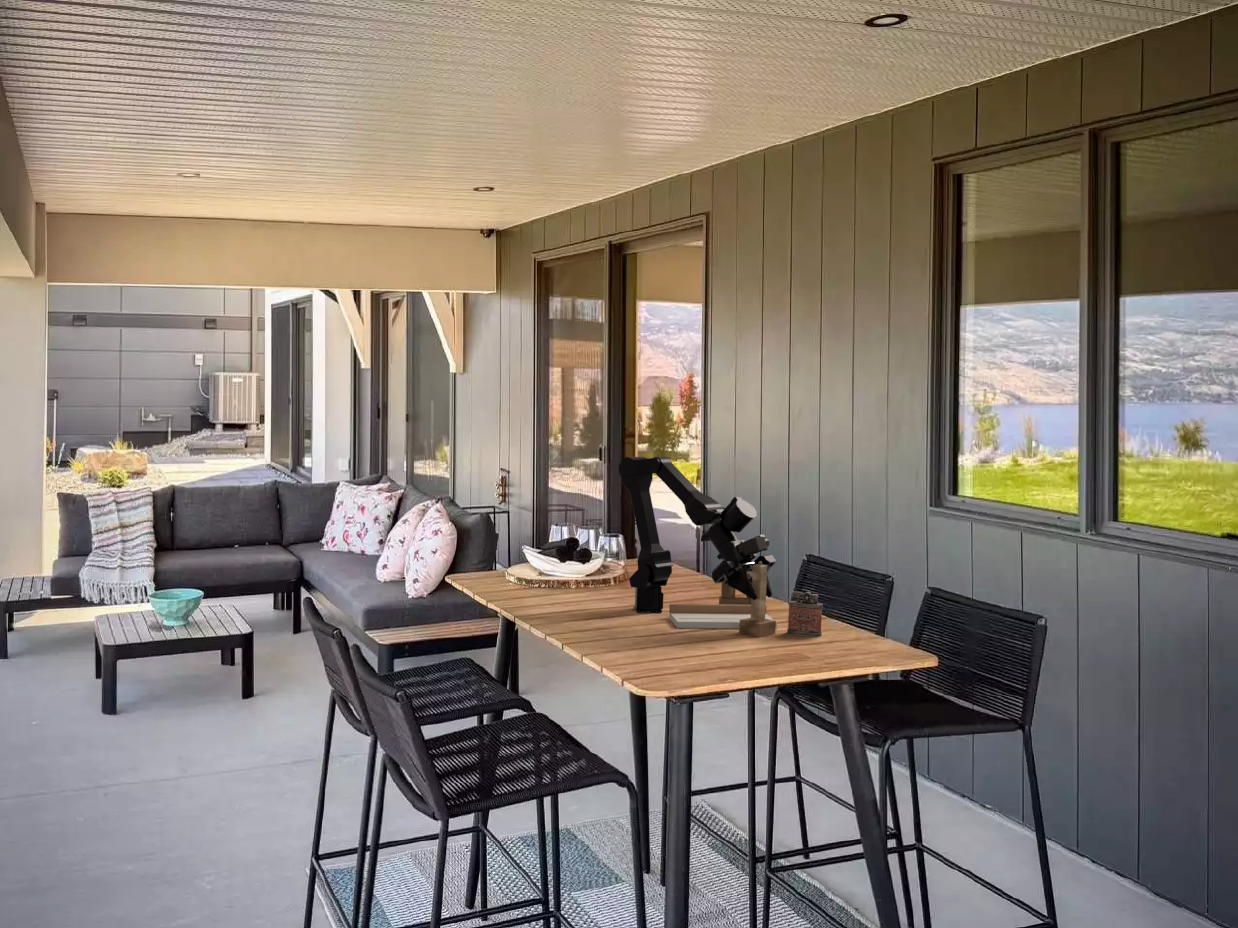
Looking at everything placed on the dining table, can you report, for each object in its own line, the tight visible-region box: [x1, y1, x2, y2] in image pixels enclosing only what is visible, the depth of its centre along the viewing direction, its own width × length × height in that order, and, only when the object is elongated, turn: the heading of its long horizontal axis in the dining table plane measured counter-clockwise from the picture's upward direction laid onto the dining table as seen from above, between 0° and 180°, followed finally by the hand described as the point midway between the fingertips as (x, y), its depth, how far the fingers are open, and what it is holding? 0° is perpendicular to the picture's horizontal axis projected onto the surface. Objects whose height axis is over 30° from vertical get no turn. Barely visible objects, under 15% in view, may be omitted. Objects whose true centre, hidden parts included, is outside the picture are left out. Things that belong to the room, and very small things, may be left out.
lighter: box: [786, 590, 824, 638], centre depth 275 cm, size 8×3×10 cm, turn 71°
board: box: [668, 603, 778, 630], centre depth 285 cm, size 24×12×4 cm, turn 97°
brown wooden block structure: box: [718, 559, 752, 605], centre depth 300 cm, size 4×11×18 cm, turn 100°
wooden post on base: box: [738, 561, 777, 638], centre depth 274 cm, size 6×6×17 cm
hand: (763, 597), depth 273 cm, fingers open, 5 cm apart
